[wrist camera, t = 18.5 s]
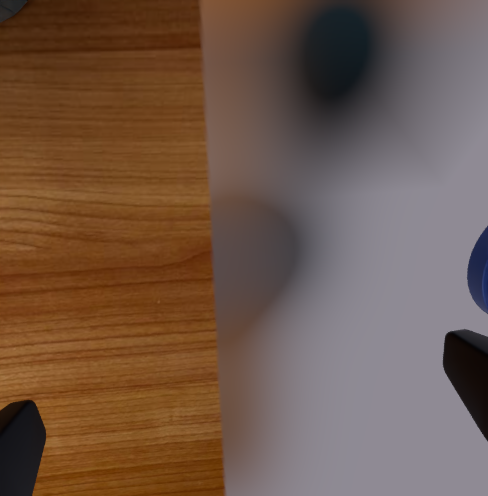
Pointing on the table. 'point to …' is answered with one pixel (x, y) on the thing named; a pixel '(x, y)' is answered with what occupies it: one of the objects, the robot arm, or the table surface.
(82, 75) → the table surface
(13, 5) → the shallow round tray
